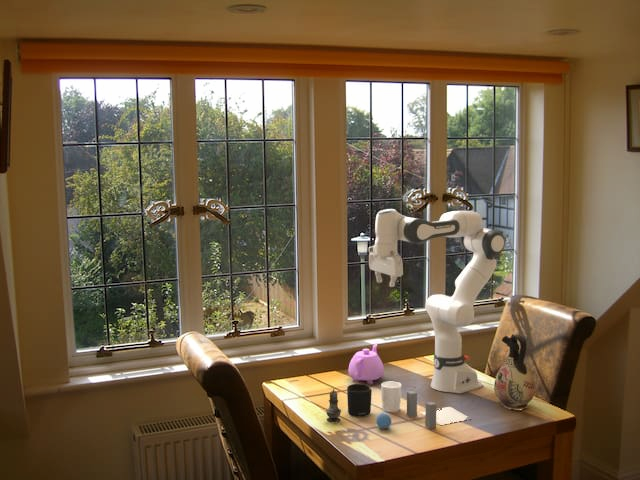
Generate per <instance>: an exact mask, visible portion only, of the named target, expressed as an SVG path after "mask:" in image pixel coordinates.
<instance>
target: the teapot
mask: <svg viewBox="0 0 640 480" xmlns="http://www.w3.org/2000/svg"><path fill="white" fill-rule="evenodd" d="M377 349H378V343H374V344H373V345H372V349H371V350H370V349H369V348H363V349H362V350H361V351H360V350H359V351H357V352H355V354H354V355H353V356H352V358H351V360H350V362H349V365H348V373H349V376H351V378H353V379H352V382H355V383H356V382H358V383H359V381H366V385H373V384H374V381H377V380H380V378H381V377H382V376H383V374H384V372H385V369H384V368H385V367H384V364H383V362H382V360H381V357H380V356H379V354H378V351H377Z"/></svg>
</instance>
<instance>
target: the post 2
mask: <svg viewBox="0 0 640 480" xmlns="http://www.w3.org/2000/svg"><path fill="white" fill-rule="evenodd" d="M436 409H437V403H435V402H434V401H428V402H425V411H426V412H425V416H424V417H425V424H424V427H426V428H427V429H429V430H431V429H435V428H437V423H436Z"/></svg>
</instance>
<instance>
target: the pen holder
mask: <svg viewBox="0 0 640 480" xmlns="http://www.w3.org/2000/svg"><path fill="white" fill-rule="evenodd" d="M346 391H347V393H346V394H347V397H346V398H347V413H348V414H349V415H350V416H353V417H358V418H362V417H367V416H369V415H370V414H371V413H372V412H371V409H372V395H373V393H372V392H373V391H372V388H370V386H368V384H366V383H365V384H364V383H353V384H349V385H348V386H347V388H346Z"/></svg>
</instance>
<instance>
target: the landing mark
mask: <svg viewBox="0 0 640 480" xmlns="http://www.w3.org/2000/svg"><path fill="white" fill-rule="evenodd" d="M441 408H442V410H440V408H438V409H439V410H440V411H439V410H437V411H436V425H437V424H438V425H439V426H440V425H442V426H446V425H445V424H447V425H451V424H450V423H451V422H452V421H453V423H452V424H455V423H454V422H456V421H457V423H460V422H459V421H462V422H465V421H464V420H465V419H466V418H467V417H468V416H467V415H466V414H464V413H462V412H460V411H459V410H456V409H455V408H453V407H452V406H447V407H441ZM425 412H426V410H424V411H419V413H420V414H421V415H422V416H424V417H425ZM438 418H439V419H438ZM450 420H451V421H450Z"/></svg>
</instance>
